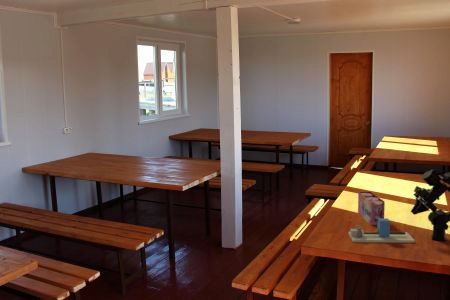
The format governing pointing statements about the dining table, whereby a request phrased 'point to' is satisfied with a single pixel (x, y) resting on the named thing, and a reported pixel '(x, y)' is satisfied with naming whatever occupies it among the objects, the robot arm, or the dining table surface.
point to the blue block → (383, 227)
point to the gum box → (370, 207)
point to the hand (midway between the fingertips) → (412, 213)
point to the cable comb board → (394, 237)
